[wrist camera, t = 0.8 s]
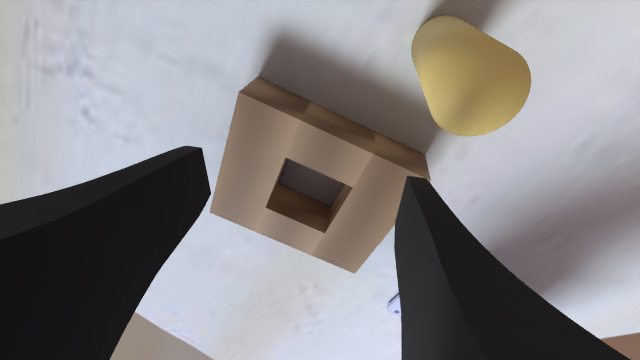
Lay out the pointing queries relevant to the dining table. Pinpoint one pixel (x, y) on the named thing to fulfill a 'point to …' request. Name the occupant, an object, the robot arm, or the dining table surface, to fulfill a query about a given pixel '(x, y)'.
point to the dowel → (468, 76)
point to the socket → (320, 155)
